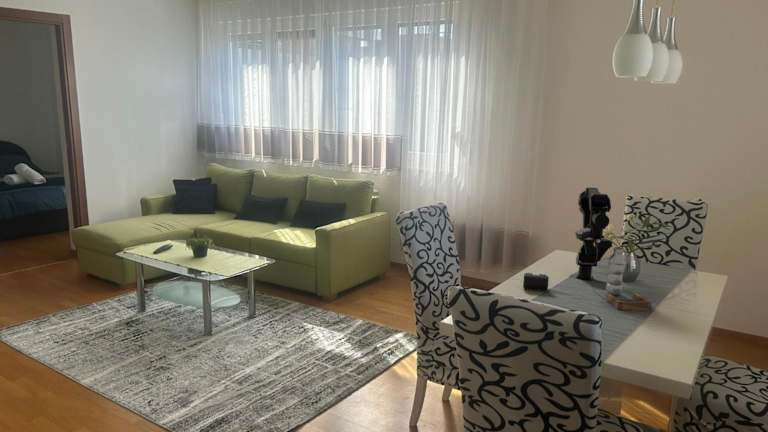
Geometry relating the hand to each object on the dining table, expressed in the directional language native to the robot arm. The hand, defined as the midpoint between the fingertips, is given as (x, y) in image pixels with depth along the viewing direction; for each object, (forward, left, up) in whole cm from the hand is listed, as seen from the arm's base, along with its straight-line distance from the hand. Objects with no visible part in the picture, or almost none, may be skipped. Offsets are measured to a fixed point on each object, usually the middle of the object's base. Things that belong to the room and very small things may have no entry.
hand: (592, 258), depth 249 cm
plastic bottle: (+6, +10, -13) cm, 18 cm away
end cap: (+17, -20, -13) cm, 29 cm away
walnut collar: (+16, +17, -13) cm, 26 cm away
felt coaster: (+7, +10, -13) cm, 18 cm away
